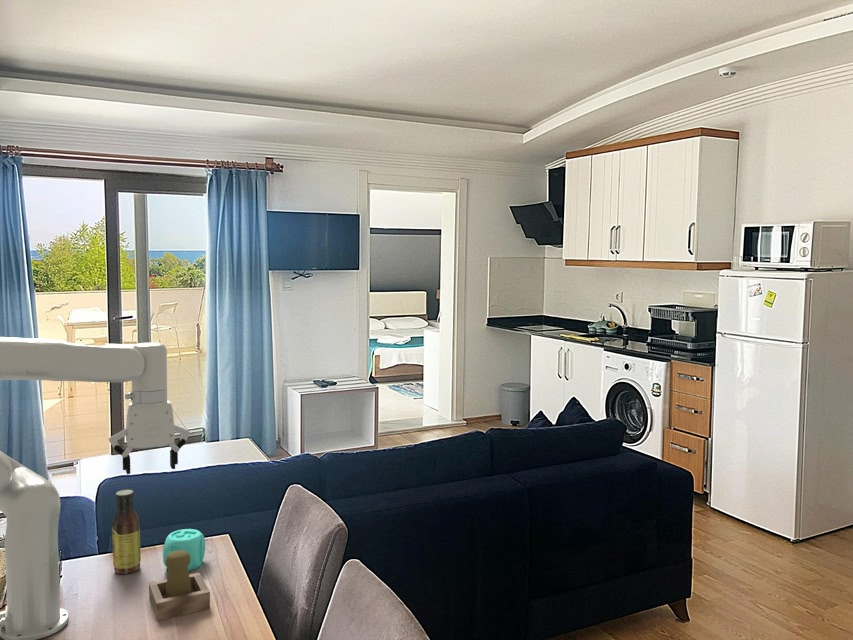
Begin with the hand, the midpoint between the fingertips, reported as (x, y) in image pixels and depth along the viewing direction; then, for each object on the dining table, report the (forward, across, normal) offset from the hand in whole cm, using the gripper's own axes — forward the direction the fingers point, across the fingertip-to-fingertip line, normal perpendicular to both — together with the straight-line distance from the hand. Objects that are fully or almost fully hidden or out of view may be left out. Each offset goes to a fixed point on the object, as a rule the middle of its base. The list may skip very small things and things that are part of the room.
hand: (150, 470), depth 160 cm
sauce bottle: (+28, -4, +13) cm, 31 cm away
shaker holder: (+28, +4, -11) cm, 30 cm away
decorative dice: (+28, +9, +9) cm, 31 cm away
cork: (+27, +4, -11) cm, 30 cm away
